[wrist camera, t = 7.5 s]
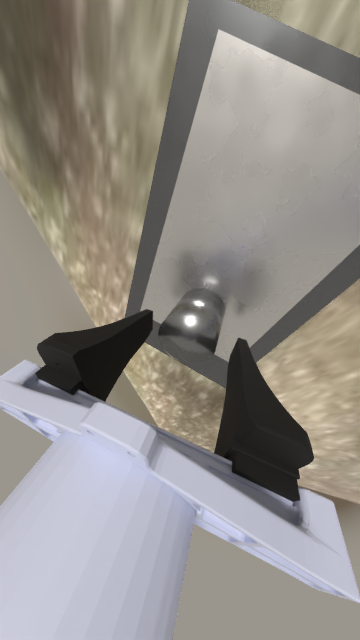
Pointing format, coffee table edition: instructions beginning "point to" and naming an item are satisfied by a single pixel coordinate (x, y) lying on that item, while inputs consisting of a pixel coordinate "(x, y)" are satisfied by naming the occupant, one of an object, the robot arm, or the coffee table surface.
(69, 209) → the coffee table surface
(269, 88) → the pan
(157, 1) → the coffee table surface
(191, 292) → the cylinder
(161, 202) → the base
